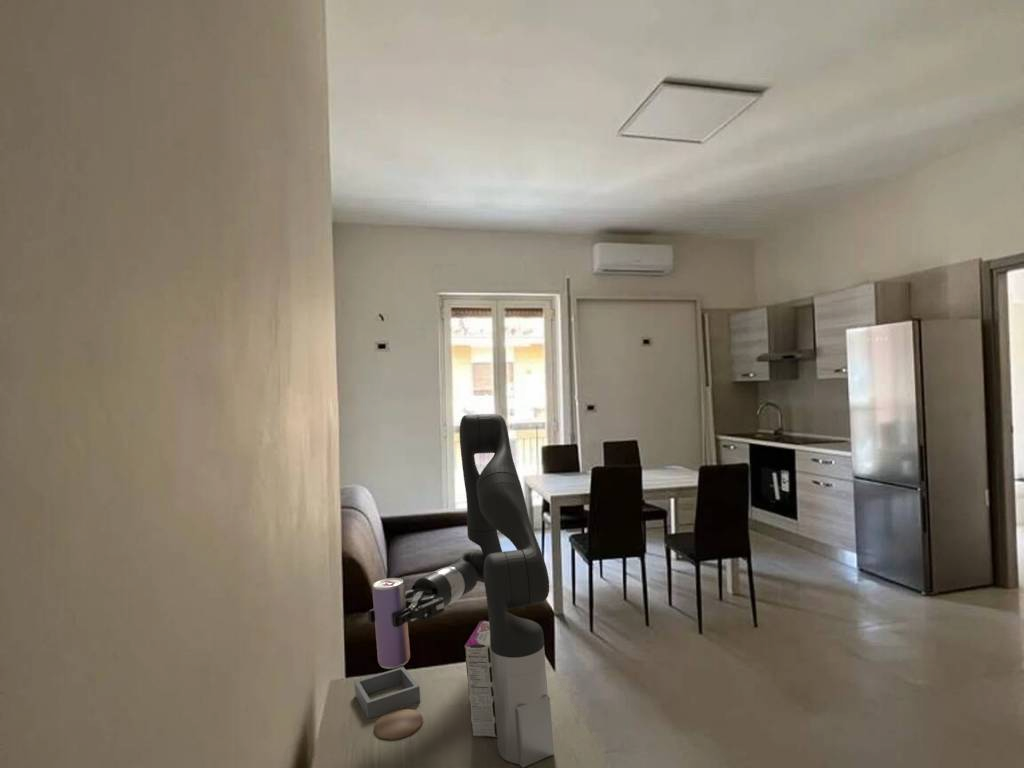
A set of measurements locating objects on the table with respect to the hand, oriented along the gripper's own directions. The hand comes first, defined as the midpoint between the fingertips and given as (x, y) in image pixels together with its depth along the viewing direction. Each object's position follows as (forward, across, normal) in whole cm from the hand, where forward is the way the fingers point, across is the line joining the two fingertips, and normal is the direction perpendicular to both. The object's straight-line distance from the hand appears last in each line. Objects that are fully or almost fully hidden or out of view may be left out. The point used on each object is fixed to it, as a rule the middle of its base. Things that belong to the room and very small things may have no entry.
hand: (381, 619), depth 104 cm
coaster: (-2, 0, +21) cm, 21 cm away
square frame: (-9, -9, +21) cm, 24 cm away
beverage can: (-2, 0, +9) cm, 10 cm away
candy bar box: (-11, +15, +21) cm, 28 cm away
